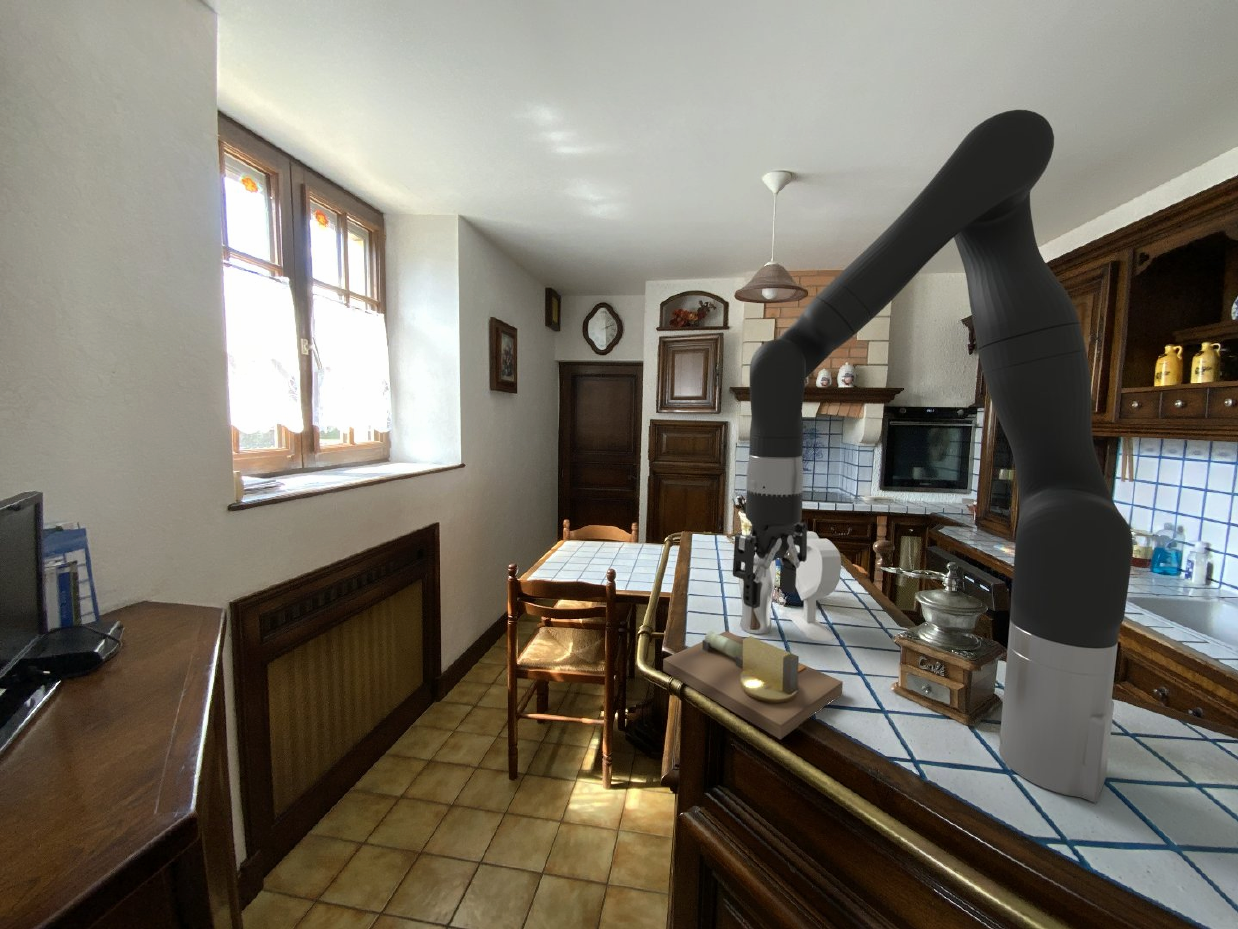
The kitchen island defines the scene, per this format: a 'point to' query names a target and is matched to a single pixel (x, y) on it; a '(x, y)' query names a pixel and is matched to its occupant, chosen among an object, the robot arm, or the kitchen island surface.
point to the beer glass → (760, 617)
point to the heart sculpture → (816, 584)
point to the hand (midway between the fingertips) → (770, 598)
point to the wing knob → (768, 672)
